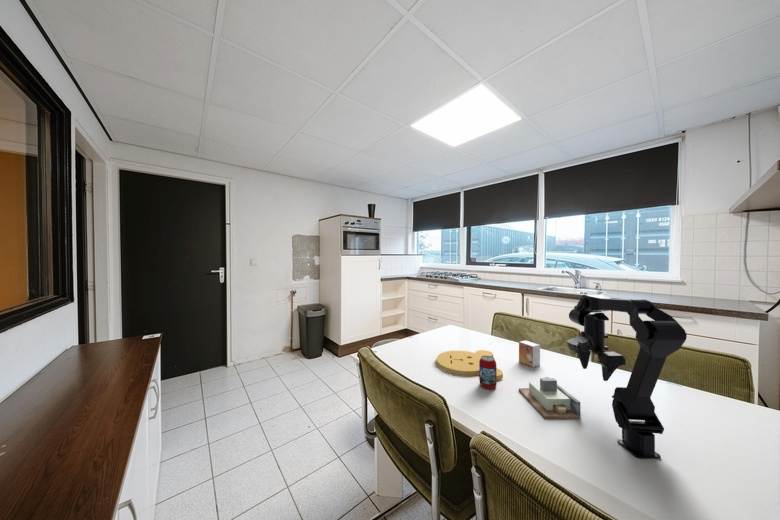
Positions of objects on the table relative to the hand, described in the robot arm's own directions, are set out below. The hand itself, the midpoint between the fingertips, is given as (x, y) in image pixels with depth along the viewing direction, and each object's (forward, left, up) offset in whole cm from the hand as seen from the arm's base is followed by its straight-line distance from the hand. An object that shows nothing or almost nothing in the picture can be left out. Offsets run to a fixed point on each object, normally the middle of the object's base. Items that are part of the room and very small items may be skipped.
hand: (594, 374), depth 90 cm
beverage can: (+18, +31, -13) cm, 38 cm away
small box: (+40, +2, -13) cm, 42 cm away
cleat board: (+5, +14, -13) cm, 20 cm away
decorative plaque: (+40, +34, -14) cm, 54 cm away
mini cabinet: (+5, +13, -12) cm, 19 cm away
